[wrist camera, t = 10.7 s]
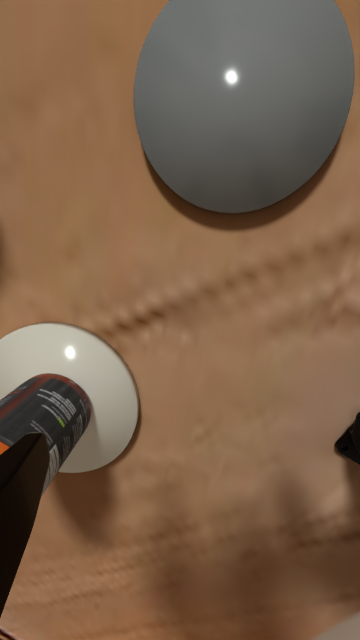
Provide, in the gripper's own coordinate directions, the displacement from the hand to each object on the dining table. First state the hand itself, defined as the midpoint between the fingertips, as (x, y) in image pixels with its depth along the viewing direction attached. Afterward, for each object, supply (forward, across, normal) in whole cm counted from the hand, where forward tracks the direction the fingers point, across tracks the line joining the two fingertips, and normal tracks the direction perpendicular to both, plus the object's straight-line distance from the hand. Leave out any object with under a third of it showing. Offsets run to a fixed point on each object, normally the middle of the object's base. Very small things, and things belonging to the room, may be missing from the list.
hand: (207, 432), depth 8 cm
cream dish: (+14, +9, +8) cm, 19 cm away
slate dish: (+13, -4, -12) cm, 18 cm away
